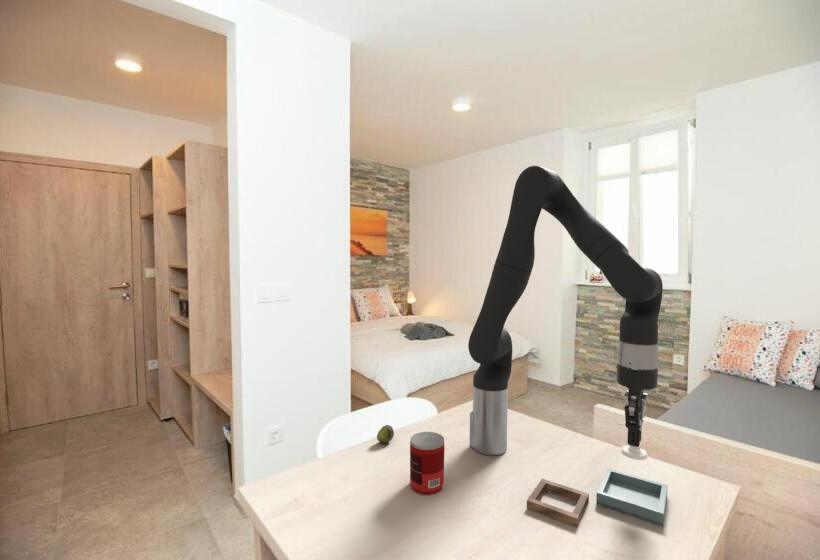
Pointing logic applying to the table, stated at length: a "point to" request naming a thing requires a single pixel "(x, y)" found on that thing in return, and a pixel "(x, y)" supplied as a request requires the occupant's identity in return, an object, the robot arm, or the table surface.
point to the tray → (633, 496)
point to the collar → (553, 511)
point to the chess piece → (634, 452)
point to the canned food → (427, 462)
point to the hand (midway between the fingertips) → (634, 442)
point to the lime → (385, 434)
